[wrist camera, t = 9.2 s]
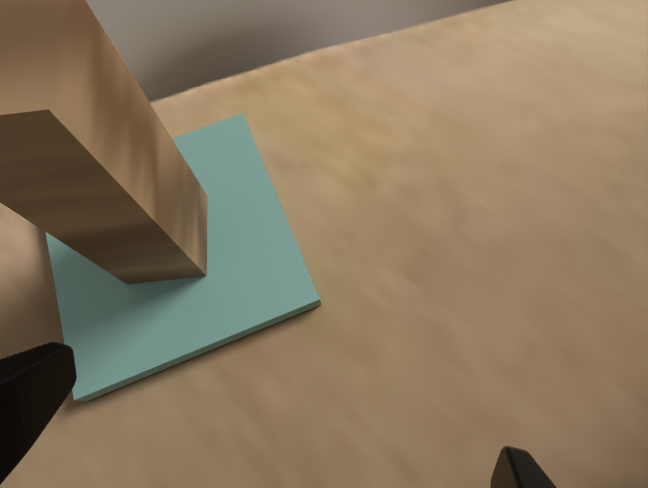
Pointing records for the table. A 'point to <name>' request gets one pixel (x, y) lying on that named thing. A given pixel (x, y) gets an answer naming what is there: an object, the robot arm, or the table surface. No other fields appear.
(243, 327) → the teal board
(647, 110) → the table surface
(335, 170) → the table surface
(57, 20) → the walnut block
